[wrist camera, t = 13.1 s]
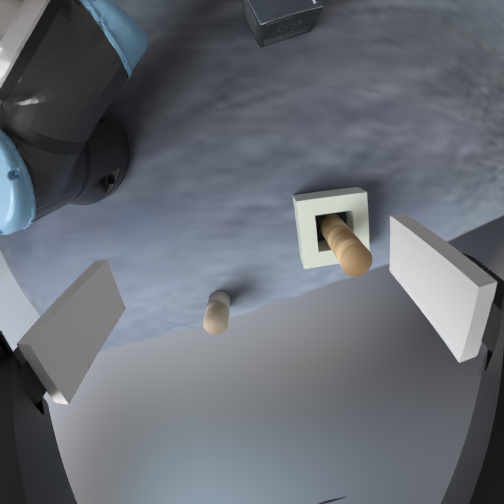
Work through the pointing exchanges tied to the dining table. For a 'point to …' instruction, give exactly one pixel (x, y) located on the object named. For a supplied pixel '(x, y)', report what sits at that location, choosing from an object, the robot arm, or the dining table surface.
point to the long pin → (345, 245)
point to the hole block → (326, 203)
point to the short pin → (217, 313)
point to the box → (280, 18)
